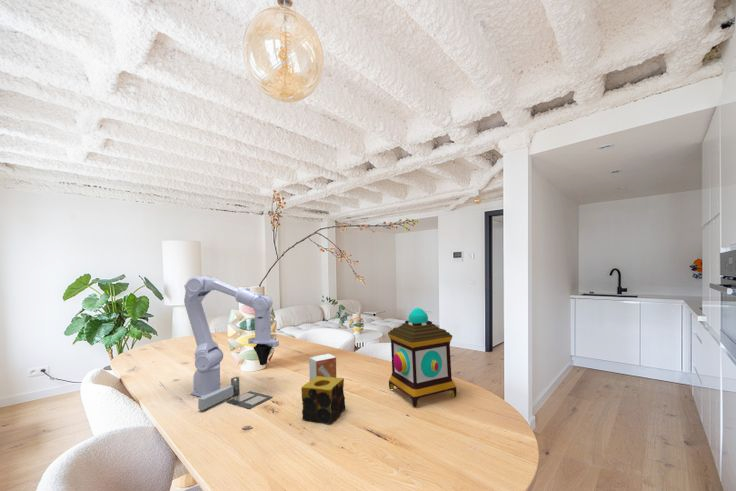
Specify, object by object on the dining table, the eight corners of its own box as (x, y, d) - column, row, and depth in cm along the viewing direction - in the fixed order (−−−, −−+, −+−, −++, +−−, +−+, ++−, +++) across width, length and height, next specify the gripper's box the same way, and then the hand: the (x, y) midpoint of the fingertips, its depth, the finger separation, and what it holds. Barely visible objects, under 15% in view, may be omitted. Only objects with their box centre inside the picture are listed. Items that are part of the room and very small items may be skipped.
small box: (316, 399, 106) (315, 361, 107) (309, 393, 111) (308, 357, 112) (337, 393, 111) (336, 356, 112) (329, 388, 116) (328, 353, 117)
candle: (346, 409, 98) (345, 377, 99) (332, 425, 88) (331, 390, 89) (317, 406, 101) (317, 375, 102) (301, 421, 92) (300, 386, 92)
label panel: (226, 402, 106) (226, 400, 106) (250, 391, 115) (250, 390, 115) (249, 409, 100) (249, 407, 100) (272, 397, 109) (272, 396, 109)
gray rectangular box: (228, 394, 111) (228, 385, 111) (233, 395, 110) (233, 385, 110) (198, 408, 100) (198, 398, 101) (203, 409, 99) (203, 399, 100)
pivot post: (229, 395, 112) (229, 379, 112) (236, 393, 114) (236, 376, 115) (234, 397, 110) (234, 380, 111) (241, 394, 113) (241, 377, 113)
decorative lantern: (412, 411, 95) (408, 313, 97) (383, 389, 113) (380, 307, 115) (463, 398, 103) (458, 308, 105) (428, 379, 121) (425, 302, 123)
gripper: (241, 328, 117) (241, 365, 116) (268, 331, 110) (268, 370, 109) (256, 325, 123) (256, 359, 122) (282, 327, 116) (283, 364, 115)
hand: (263, 364), depth 116 cm, fingers closed
